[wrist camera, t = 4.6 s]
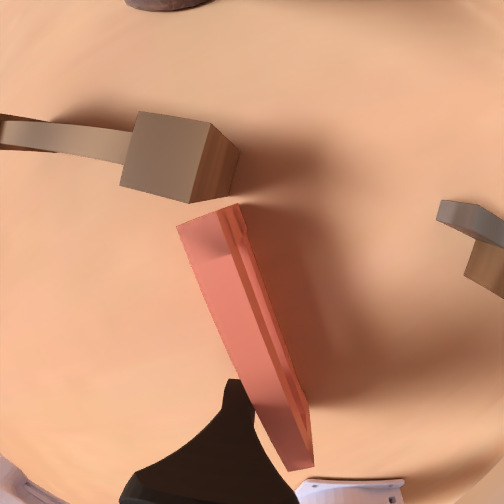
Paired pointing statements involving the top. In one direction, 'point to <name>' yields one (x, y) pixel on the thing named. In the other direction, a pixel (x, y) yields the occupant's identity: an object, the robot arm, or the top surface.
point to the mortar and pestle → (162, 4)
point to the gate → (250, 329)
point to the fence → (215, 172)
